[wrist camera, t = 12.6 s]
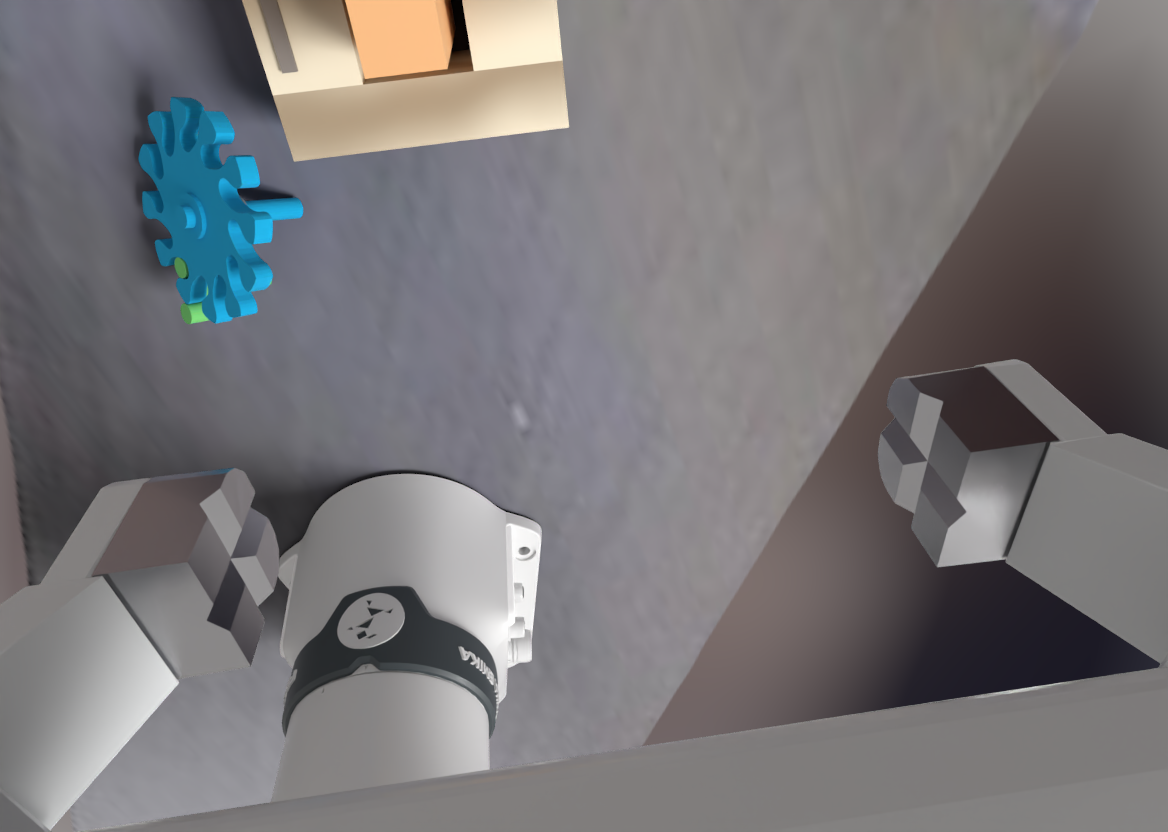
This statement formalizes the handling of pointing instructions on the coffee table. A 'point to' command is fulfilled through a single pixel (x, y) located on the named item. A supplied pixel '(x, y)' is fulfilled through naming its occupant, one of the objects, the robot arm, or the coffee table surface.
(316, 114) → the block
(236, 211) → the gear
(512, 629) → the robot arm
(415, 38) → the key peg
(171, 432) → the coffee table surface
